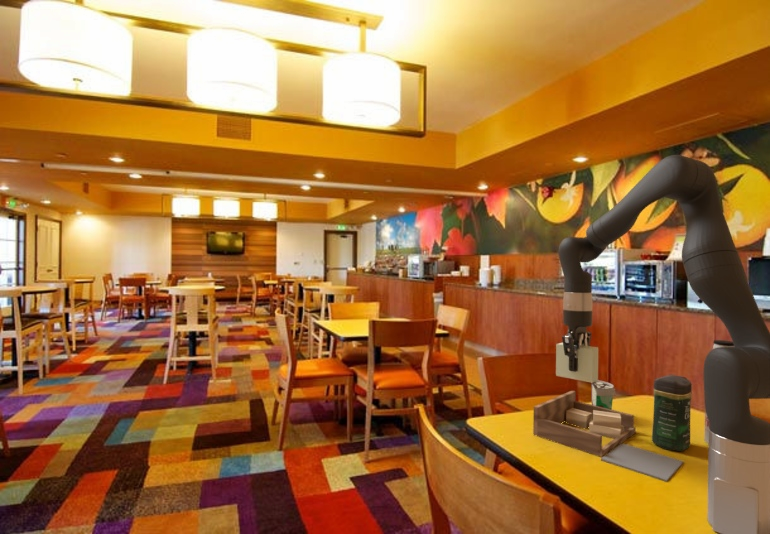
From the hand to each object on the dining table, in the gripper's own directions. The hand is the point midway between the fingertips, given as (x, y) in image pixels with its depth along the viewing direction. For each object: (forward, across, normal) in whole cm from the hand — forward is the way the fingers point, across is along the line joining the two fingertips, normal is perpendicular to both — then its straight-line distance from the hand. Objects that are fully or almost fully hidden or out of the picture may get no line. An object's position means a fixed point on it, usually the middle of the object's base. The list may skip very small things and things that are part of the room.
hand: (576, 369), depth 120 cm
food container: (+19, +24, +2) cm, 31 cm away
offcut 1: (+19, +10, +4) cm, 22 cm away
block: (+2, 0, 0) cm, 2 cm away
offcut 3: (+19, +9, -5) cm, 22 cm away
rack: (+19, +4, 0) cm, 19 cm away
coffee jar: (+19, +14, -19) cm, 31 cm away
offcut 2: (+16, +9, -5) cm, 19 cm away
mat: (+19, -3, -17) cm, 26 cm away
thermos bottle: (+19, +26, -28) cm, 43 cm away
